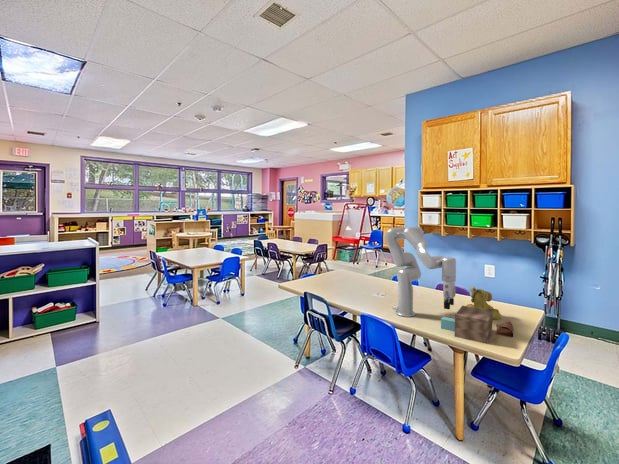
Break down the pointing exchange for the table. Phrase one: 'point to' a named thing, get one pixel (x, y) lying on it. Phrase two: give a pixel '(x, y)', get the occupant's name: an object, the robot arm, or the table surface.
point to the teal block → (448, 324)
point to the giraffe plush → (483, 301)
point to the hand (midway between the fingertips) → (448, 306)
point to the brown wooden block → (473, 324)
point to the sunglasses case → (505, 329)
